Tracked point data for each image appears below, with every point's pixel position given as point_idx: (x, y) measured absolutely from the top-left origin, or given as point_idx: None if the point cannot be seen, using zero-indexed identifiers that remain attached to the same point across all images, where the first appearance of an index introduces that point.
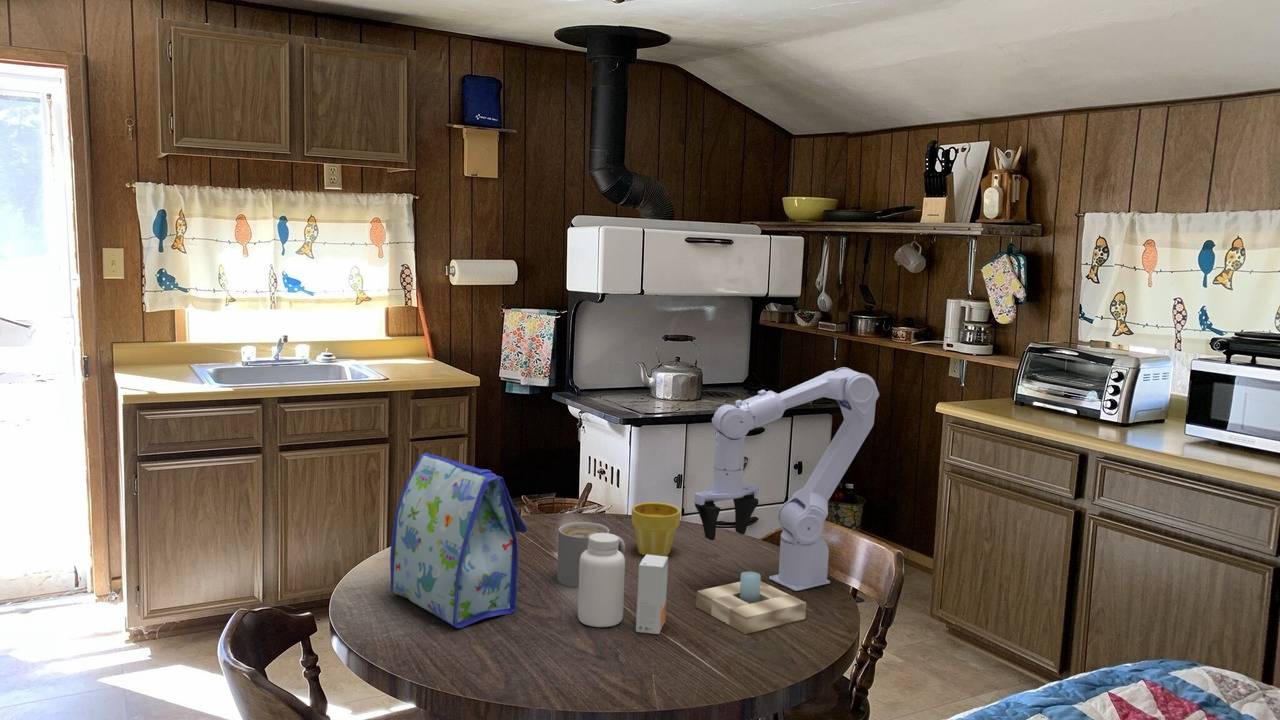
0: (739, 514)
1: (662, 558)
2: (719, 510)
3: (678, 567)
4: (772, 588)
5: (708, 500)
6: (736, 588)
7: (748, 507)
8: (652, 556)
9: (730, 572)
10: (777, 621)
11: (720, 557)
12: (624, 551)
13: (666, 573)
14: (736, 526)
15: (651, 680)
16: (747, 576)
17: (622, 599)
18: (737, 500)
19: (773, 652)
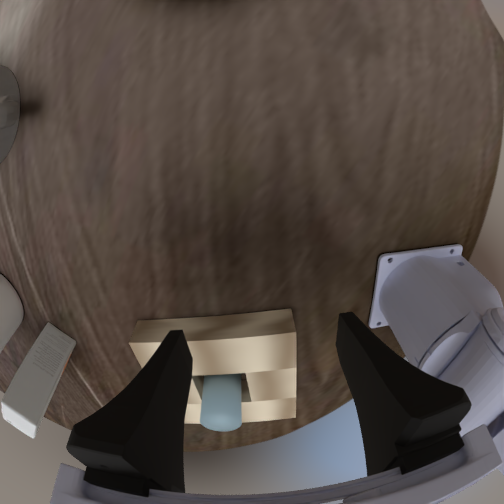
0: (365, 386)
1: (28, 426)
2: (181, 485)
3: (208, 77)
4: (289, 376)
5: (131, 500)
6: (217, 360)
7: (366, 455)
8: (12, 414)
9: (331, 173)
10: None
11: (377, 62)
12: (1, 128)
13: (44, 411)
14: (345, 333)
15: (60, 409)
16: (209, 424)
17: (7, 340)
18: (393, 432)
19: (189, 430)
